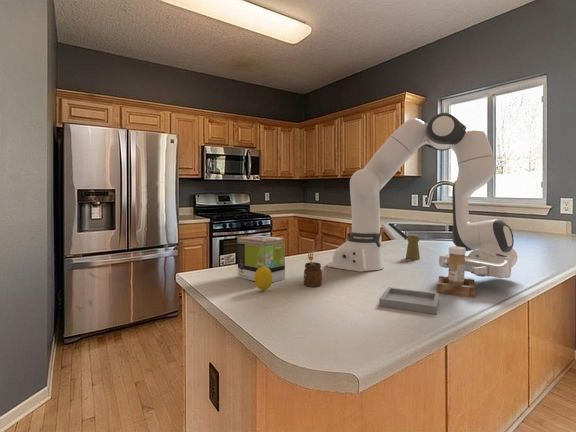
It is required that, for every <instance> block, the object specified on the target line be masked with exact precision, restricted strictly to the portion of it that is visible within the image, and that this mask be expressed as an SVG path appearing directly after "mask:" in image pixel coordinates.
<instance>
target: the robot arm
mask: <svg viewBox="0 0 576 432" xmlns="http://www.w3.org/2000/svg"><path fill="white" fill-rule="evenodd" d="M423 146H425V147H428V148H431V149H433V150H436V151H438V152H439V151H441V152H443V151H448V150H450V149H451V150H452V151H454V153H455V155H456V161H457V166H458V172H457V173H458V174H457V178H456V179H455V181H454V183H453V185H452V192H451V193H452V194H451V197H452V200H451V201H452V222H453V223H452V231H451V241H452V243H453V244H454V246H457V247H464V248H465V249H466V252H469V251H470V253H469V254H468V255H465V271H464V272H469V273H471V274H473V275H475V276H477V277H481V278H482V277H484V278H485V277H494V278H497V279H508V278H510V277H511V275H512V268H514V266H515V265H516V264H517V262H518V254H517V251H516V250H515V248H513V247H514V242H515V240H514V234H513V230H512V229H511V227H510V226H509V225H508V224H507V223H506V222H505V221H503V220H502V219H499V218H495V219H487V220H482V221H476V222H470V217H469V216H470V215H469V214H470V211H469V201H470V197H471V196H472V195H473V194H474V193H475V192H476V191H477V190H479V189H480V188H482V187H483V186H485V185H486V184H488V183H489V181H491V180H492V179H493V177H494V175H495V173H496V162H495V161H496V160H495V157H494V154H493V150H492V146H491V143H490V141H489V138H488V136H487V134H486V133H485V131H484V130H482V129H479V128H470V129H467V126H466V125H465V124H464V123H463V122H462V121H460V120H459V118H458V117H457V116H455V115H454V114H452V113H450V112H440V113H438V114H436V115H433V117H431V118H430V119H429V121H428V122H424V121H422V120H421V119H419V118H416V117H411V118H409V119H408V120H406V121H405V122H403V123H402V124H401V125H399V127H398V128H397V129H396V130H395V131H393V132H392V133H391V135H390V136H389V137H388V138H387V139H386V140H385V142H384V143H383V144H382V145H380V147H379V148H378V149H377V150H376V151H375V153H374V155H373V156H372V157H371V158H370V159H369V161H368V162H367V164H366V165H365V166H364V167H363V168H362V169H359V170H356V171H355V172H354V173H353V174H352V176H351V177H350V179H349V195H350V204H351V205H350V206H351V231H349V232H348V233H347V234H346V236H345V237H346V239H347V240H346V241H345V242H344V243H341V245H340V246H337V248H336V249H335V250H334V252H333V256H332V260H329V261H328V262H327V263H326V265H327V267H328V268H334V269H340V270H347V271H354V272H358V273H359V272H368V271H378V270H382V269H384V267H385V266H384V263H383V258H382V257H383V256H382V252H381V251H382V250H381V247H382V233H381V206H380V205H381V204H380V203H381V202H380V201H381V200H380V191H381V190H382V189H383V188H384V187H385V186H386V185H387V183H388V182H389V181H391V179H392V178H393V177H394V176H395V174H396V173H397V172H398V171H399V170H400V169H401V168H402V166H403V165H404V164H405V163H406V162H408V160H409V159H410V158H411V157H412V156H413V155H414V154H415V153H416V151H418V150H419V148H421V147H423ZM438 265H439V266H441V267H442V268H443V269H447V268H448V269H449V253H448V254H441V255H439V257H438Z"/></svg>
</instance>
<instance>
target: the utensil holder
mask: <svg viewBox="0 0 576 432" xmlns="http://www.w3.org/2000/svg"><path fill="white" fill-rule="evenodd" d="M314 254H315V255H314ZM318 254H319V253H318V251H317V250H315V251H314V250H308V251H307V256H308V258H307V259H308V260H309V262H306V263H305V264H304V270H303V284H304V286H306V287H310V288H317V287H320V286H321V285H322V284H323V271H322V269H321V267H322V265H321V263H319V262H318V259H319V257H318ZM314 259H315V260H316V259H317V260H316V261H314Z"/></svg>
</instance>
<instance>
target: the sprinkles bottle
mask: <svg viewBox="0 0 576 432" xmlns="http://www.w3.org/2000/svg"><path fill="white" fill-rule="evenodd" d="M466 252H467V251H466V249H465V248H464V247H457V246H455V245H452V246H449V247H448V254H449V268H448V275H447V277H448V284H456V285H464V279H465V272H466V271H465V256H466Z"/></svg>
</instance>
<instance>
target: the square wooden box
mask: <svg viewBox="0 0 576 432" xmlns="http://www.w3.org/2000/svg"><path fill="white" fill-rule="evenodd" d="M436 293H439V294H443V295H451V296H459V297H468V298H476V282H475V279H472V278H464V285H456V284H448V276H443V275H441V276H440V275H439V276H438V279H437V283H436Z"/></svg>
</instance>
